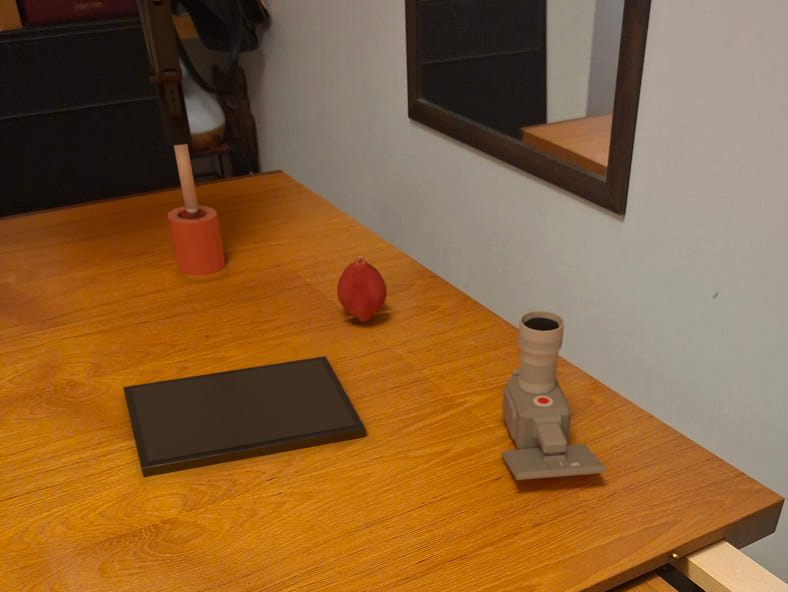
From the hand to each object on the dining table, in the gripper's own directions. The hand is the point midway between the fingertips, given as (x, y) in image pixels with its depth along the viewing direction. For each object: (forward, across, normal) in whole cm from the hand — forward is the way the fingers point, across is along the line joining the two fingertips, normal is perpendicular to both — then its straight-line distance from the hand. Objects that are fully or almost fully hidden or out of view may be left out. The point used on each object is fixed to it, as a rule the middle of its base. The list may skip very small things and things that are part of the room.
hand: (179, 140), depth 108 cm
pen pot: (+15, 0, 0) cm, 15 cm away
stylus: (+8, 0, 0) cm, 8 cm away
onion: (+16, -21, -16) cm, 31 cm away
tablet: (+16, -38, +2) cm, 41 cm away
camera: (+16, -54, -25) cm, 61 cm away
